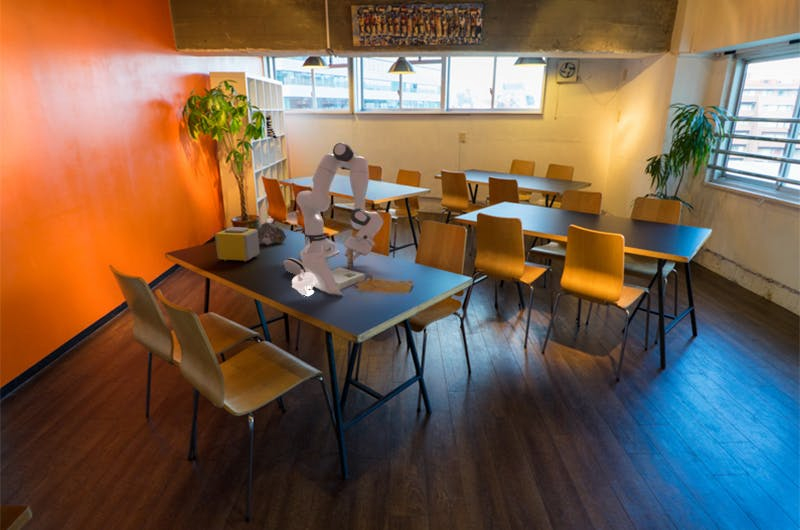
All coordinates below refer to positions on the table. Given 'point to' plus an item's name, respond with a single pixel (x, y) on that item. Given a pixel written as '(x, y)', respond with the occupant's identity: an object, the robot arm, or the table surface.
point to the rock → (271, 233)
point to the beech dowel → (350, 258)
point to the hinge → (293, 266)
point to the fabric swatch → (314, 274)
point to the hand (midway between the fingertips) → (349, 257)
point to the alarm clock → (237, 243)
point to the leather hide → (384, 286)
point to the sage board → (346, 277)
